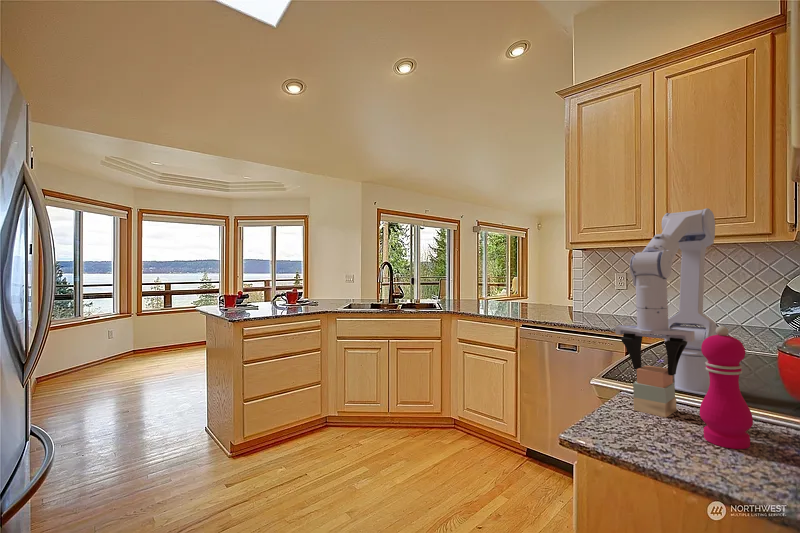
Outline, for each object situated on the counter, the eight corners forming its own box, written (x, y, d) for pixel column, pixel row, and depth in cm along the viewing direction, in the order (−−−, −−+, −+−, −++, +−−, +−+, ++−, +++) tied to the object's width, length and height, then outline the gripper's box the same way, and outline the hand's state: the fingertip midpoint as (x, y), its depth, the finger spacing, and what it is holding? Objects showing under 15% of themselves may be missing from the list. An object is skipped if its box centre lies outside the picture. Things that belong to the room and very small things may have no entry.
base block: (645, 404, 90) (645, 391, 90) (676, 411, 85) (676, 397, 85) (633, 411, 86) (633, 397, 86) (665, 418, 82) (665, 403, 82)
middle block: (643, 391, 90) (643, 377, 90) (675, 397, 86) (674, 382, 86) (633, 397, 86) (633, 383, 86) (665, 403, 82) (665, 388, 82)
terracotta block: (647, 378, 89) (646, 365, 89) (672, 383, 85) (672, 369, 85) (637, 383, 86) (636, 369, 86) (663, 388, 82) (662, 373, 82)
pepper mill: (699, 430, 75) (695, 322, 75) (751, 438, 71) (746, 324, 71) (701, 444, 69) (696, 327, 69) (757, 454, 65) (751, 330, 65)
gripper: (608, 307, 89) (610, 368, 89) (684, 311, 78) (687, 381, 78) (623, 305, 94) (625, 363, 93) (697, 308, 82) (699, 375, 82)
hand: (654, 371), depth 86 cm, fingers open, 6 cm apart
